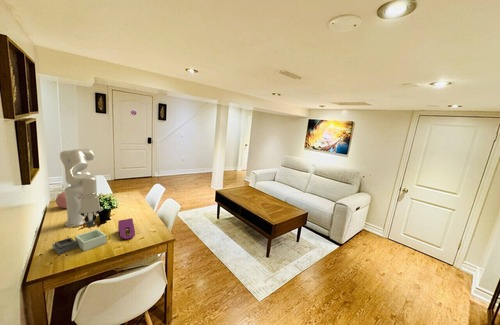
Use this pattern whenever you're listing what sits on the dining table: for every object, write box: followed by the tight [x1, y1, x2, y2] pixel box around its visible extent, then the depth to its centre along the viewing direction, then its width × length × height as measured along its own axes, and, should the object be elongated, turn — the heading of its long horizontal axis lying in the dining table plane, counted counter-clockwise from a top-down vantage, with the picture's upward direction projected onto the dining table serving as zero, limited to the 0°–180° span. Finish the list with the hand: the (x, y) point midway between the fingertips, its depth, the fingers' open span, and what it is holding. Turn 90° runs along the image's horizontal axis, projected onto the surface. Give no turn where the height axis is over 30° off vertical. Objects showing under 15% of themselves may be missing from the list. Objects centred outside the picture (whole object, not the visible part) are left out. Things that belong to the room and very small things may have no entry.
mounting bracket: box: [117, 218, 136, 241], centre depth 156 cm, size 10×8×18 cm
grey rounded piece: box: [85, 212, 96, 228], centre depth 137 cm, size 5×5×13 cm
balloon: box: [55, 192, 82, 209], centre depth 193 cm, size 15×20×15 cm
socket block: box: [51, 236, 79, 255], centre depth 133 cm, size 10×10×4 cm
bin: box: [74, 228, 108, 252], centre depth 140 cm, size 13×13×6 cm
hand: (90, 220), depth 138 cm, fingers closed on grey rounded piece, 3 cm apart
